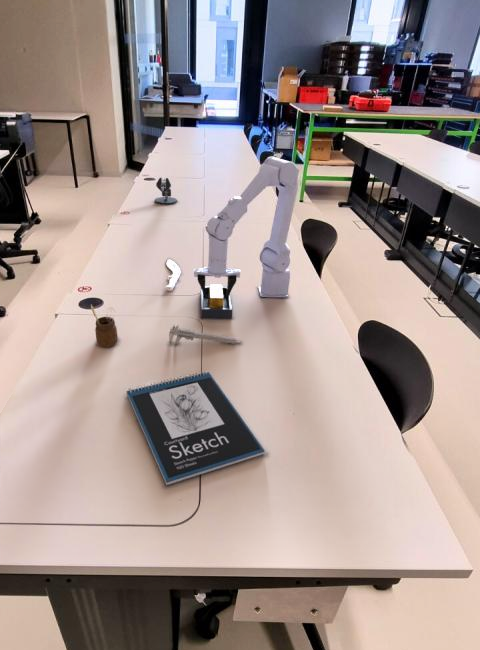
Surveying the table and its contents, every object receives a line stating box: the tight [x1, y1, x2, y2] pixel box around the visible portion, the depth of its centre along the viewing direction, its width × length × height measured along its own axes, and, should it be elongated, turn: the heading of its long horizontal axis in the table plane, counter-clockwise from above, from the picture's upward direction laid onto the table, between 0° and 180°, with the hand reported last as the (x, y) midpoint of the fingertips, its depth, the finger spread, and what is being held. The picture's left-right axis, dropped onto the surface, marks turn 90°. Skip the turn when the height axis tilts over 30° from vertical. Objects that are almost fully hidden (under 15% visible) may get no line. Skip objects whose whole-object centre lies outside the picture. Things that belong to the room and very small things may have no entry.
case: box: [200, 285, 233, 320], centre depth 144 cm, size 10×17×3 cm, turn 2°
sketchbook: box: [126, 370, 266, 486], centre depth 98 cm, size 22×30×2 cm
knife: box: [163, 258, 182, 292], centre depth 165 cm, size 30×2×8 cm
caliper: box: [168, 324, 241, 345], centre depth 125 cm, size 20×1×6 cm, turn 94°
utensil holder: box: [90, 304, 119, 348], centre depth 122 cm, size 6×6×12 cm
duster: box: [208, 284, 224, 308], centre depth 144 cm, size 5×11×5 cm, turn 1°
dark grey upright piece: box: [154, 176, 178, 206], centre depth 242 cm, size 13×20×13 cm, turn 1°
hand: (215, 296), depth 143 cm, fingers open, 7 cm apart
